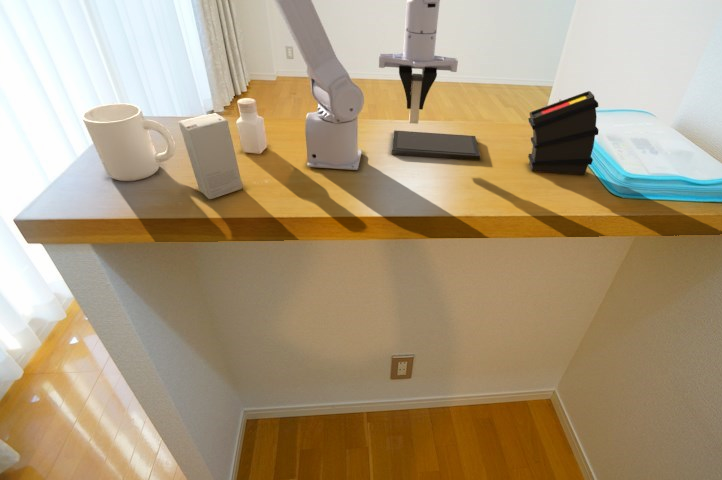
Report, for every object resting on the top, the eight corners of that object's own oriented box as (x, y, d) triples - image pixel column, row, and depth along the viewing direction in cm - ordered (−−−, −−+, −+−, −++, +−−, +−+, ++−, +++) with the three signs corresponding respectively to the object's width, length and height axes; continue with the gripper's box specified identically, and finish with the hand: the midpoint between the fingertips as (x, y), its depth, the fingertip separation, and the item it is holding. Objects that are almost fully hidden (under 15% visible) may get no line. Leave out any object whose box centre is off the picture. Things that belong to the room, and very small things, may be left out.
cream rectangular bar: (409, 123, 83) (412, 76, 78) (409, 119, 85) (412, 73, 79) (418, 123, 84) (422, 76, 78) (417, 120, 85) (421, 73, 79)
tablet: (391, 154, 84) (391, 149, 83) (393, 134, 91) (393, 129, 91) (479, 160, 84) (480, 155, 83) (474, 140, 92) (475, 135, 91)
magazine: (605, 170, 80) (597, 96, 71) (536, 191, 84) (521, 123, 75) (598, 161, 83) (590, 89, 74) (532, 182, 87) (517, 115, 78)
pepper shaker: (241, 152, 81) (231, 103, 74) (249, 144, 84) (241, 96, 77) (260, 155, 80) (252, 105, 74) (268, 146, 83) (261, 98, 77)
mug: (187, 158, 77) (170, 103, 71) (177, 180, 71) (158, 121, 65) (116, 160, 75) (92, 103, 69) (100, 183, 69) (72, 123, 62)
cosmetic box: (232, 179, 73) (216, 110, 65) (244, 190, 70) (229, 119, 62) (197, 190, 69) (176, 119, 61) (209, 202, 67) (188, 129, 59)
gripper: (379, 33, 70) (377, 112, 79) (463, 38, 71) (452, 116, 80) (380, 24, 75) (378, 100, 84) (459, 29, 76) (449, 103, 85)
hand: (414, 107), depth 82 cm, fingers closed on cream rectangular bar, 2 cm apart
